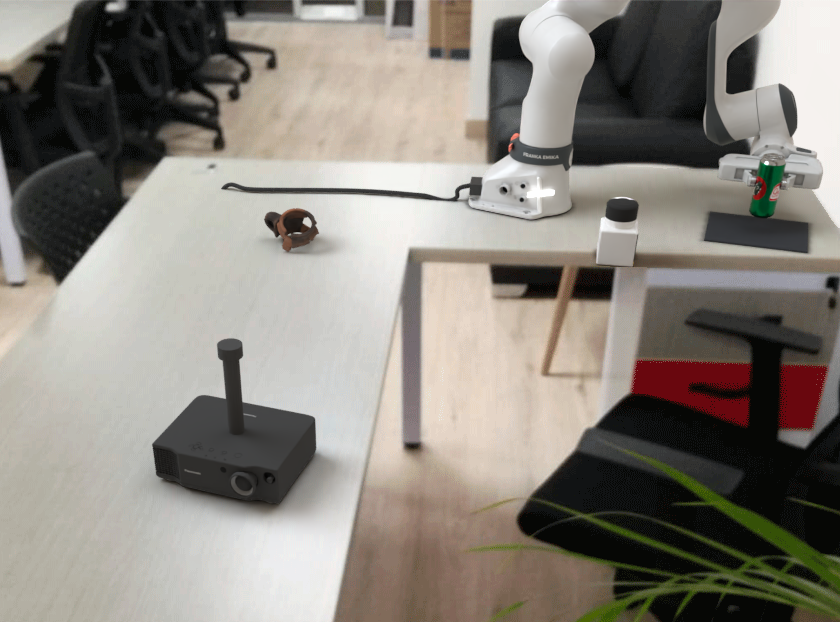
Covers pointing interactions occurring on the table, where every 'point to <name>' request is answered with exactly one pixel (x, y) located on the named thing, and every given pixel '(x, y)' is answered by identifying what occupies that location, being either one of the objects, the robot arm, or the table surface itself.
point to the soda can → (767, 185)
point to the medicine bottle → (618, 233)
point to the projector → (235, 442)
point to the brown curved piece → (292, 227)
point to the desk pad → (757, 232)
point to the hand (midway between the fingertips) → (768, 184)
